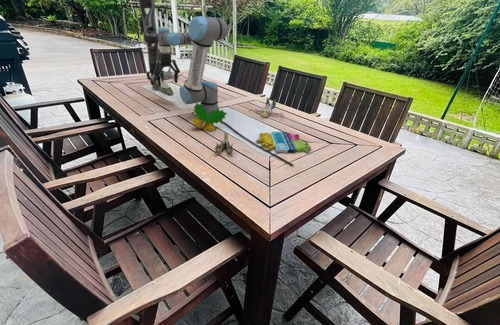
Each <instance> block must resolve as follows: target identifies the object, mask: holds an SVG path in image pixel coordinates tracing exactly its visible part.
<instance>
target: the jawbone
mask: <svg viewBox="0 0 500 325" xmlns="http://www.w3.org/2000/svg"><path fill="white" fill-rule="evenodd" d="M223 135H224V136H223V140H222V139H221V142H220V144H218V142H215V144H216V146H215V148H214V149H215V152H214V154H215V155H217V156H218V155H220V153H221V152H223V151H224V150H226V152H227V153H228V155H229V156H233V155H234V154H233V153H234V148H233V144H234V143H230V140H228V139H229V138H228V137H229V136H228V135H229V133H228V131H226V132H224V134H223Z"/></svg>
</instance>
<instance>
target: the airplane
mask: <svg viewBox="0 0 500 325" xmlns="http://www.w3.org/2000/svg"><path fill="white" fill-rule="evenodd" d="M163 71H164V78H163V79H164V80H168V79H169V78H171V79H173V78H174V73H175V72H174V71H172V69H171V68H170V67H168V69H167V71H165V70H163ZM180 76H181V74H178V77H180Z"/></svg>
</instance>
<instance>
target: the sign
mask: <svg viewBox="0 0 500 325" xmlns="http://www.w3.org/2000/svg"><path fill="white" fill-rule="evenodd" d="M299 136H300V135H299V134H298V133H296V134H294V133H291V132H287V131H270V132H264V133H263V132H260V133H259V139H258V138H257V139H256V143H257V144H261V147H262V148H264V149H267V150H268V151H269V152H271V151H272V150H273V149H275V152H276V153H283V154H285V153H287V154H288V153H290V154H293V153H296V152H298V153H301V152H305V153H310V151H311V150H312V149H311V148H312V146H309V142H304V141H303V139H302V138H299Z"/></svg>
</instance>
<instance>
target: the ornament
mask: <svg viewBox="0 0 500 325" xmlns="http://www.w3.org/2000/svg"><path fill="white" fill-rule="evenodd" d="M219 110H220V108H219V109H217V110H216V111H214V110H212V112H211V113H208V112H206V109H204V106H201V103H197V102H196V103H195V105H194V106H193V112H194V113H195V118H192V119H191V122H192V123H193V125H195V127H197V128H198V129H202V130H203V131H206V132H212V131H213V132H214V131H215V130H216V126H215V124H218V123H219V122H220V121H221V122H220V123H222V122H223V119H226V115H227V114H228V113H227V112H224V110H223V109H221V110H220V111H219ZM207 113H208V115H207ZM214 123H215V124H214Z"/></svg>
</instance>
